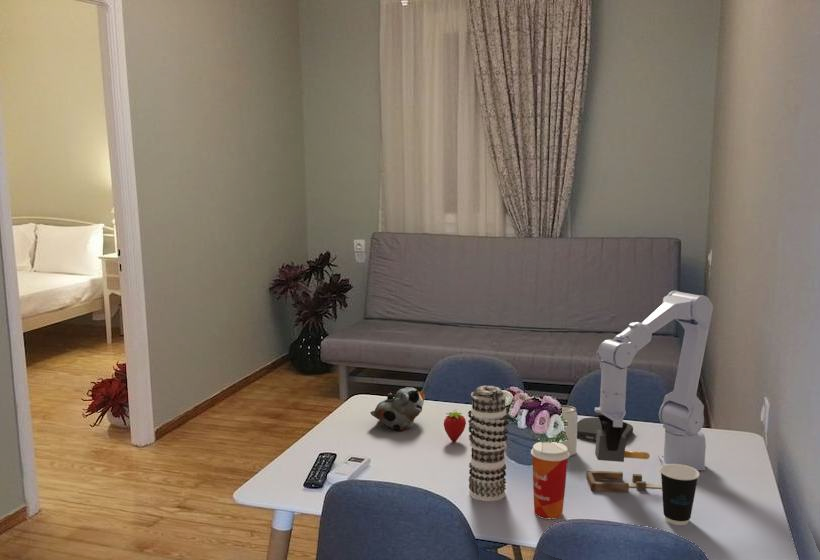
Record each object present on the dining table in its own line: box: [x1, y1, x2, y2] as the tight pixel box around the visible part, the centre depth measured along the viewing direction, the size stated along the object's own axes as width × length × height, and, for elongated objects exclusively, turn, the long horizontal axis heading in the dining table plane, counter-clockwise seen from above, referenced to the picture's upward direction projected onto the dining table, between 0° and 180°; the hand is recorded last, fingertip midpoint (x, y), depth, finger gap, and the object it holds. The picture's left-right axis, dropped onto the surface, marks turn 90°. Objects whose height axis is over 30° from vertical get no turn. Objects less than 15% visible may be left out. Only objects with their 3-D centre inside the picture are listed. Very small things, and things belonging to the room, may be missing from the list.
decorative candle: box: [467, 385, 510, 502], centre depth 168 cm, size 9×9×25 cm
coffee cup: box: [530, 441, 571, 520], centre depth 158 cm, size 8×8×15 cm
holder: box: [585, 470, 662, 493], centre depth 174 cm, size 17×8×2 cm, turn 86°
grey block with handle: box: [594, 430, 650, 463], centre depth 174 cm, size 12×4×6 cm, turn 85°
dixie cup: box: [659, 464, 701, 526], centre depth 156 cm, size 8×8×11 cm
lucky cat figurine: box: [370, 386, 426, 432], centre depth 215 cm, size 15×12×14 cm
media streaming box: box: [577, 416, 634, 443], centre depth 208 cm, size 15×15×3 cm
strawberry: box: [443, 410, 467, 443], centre depth 201 cm, size 6×8×10 cm
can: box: [559, 404, 578, 457], centre depth 194 cm, size 6×6×12 cm
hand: (610, 446), depth 174 cm, fingers closed on grey block with handle, 4 cm apart
